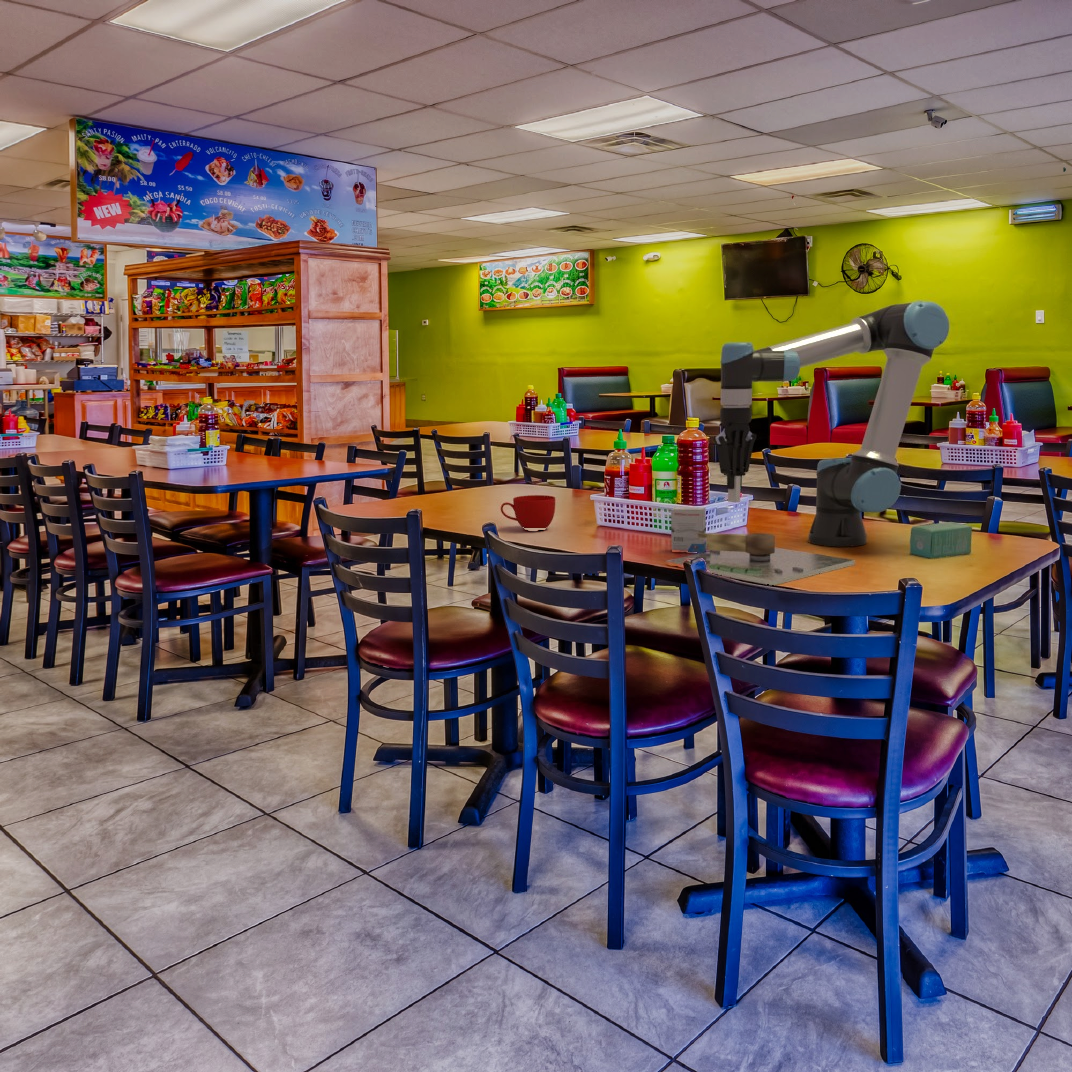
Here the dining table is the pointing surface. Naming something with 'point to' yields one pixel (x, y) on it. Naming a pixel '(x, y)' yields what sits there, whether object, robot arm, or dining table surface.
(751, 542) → the dial
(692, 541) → the ink box
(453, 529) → the dining table surface
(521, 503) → the ceramic cup
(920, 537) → the box
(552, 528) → the dining table surface
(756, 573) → the tuner plate
